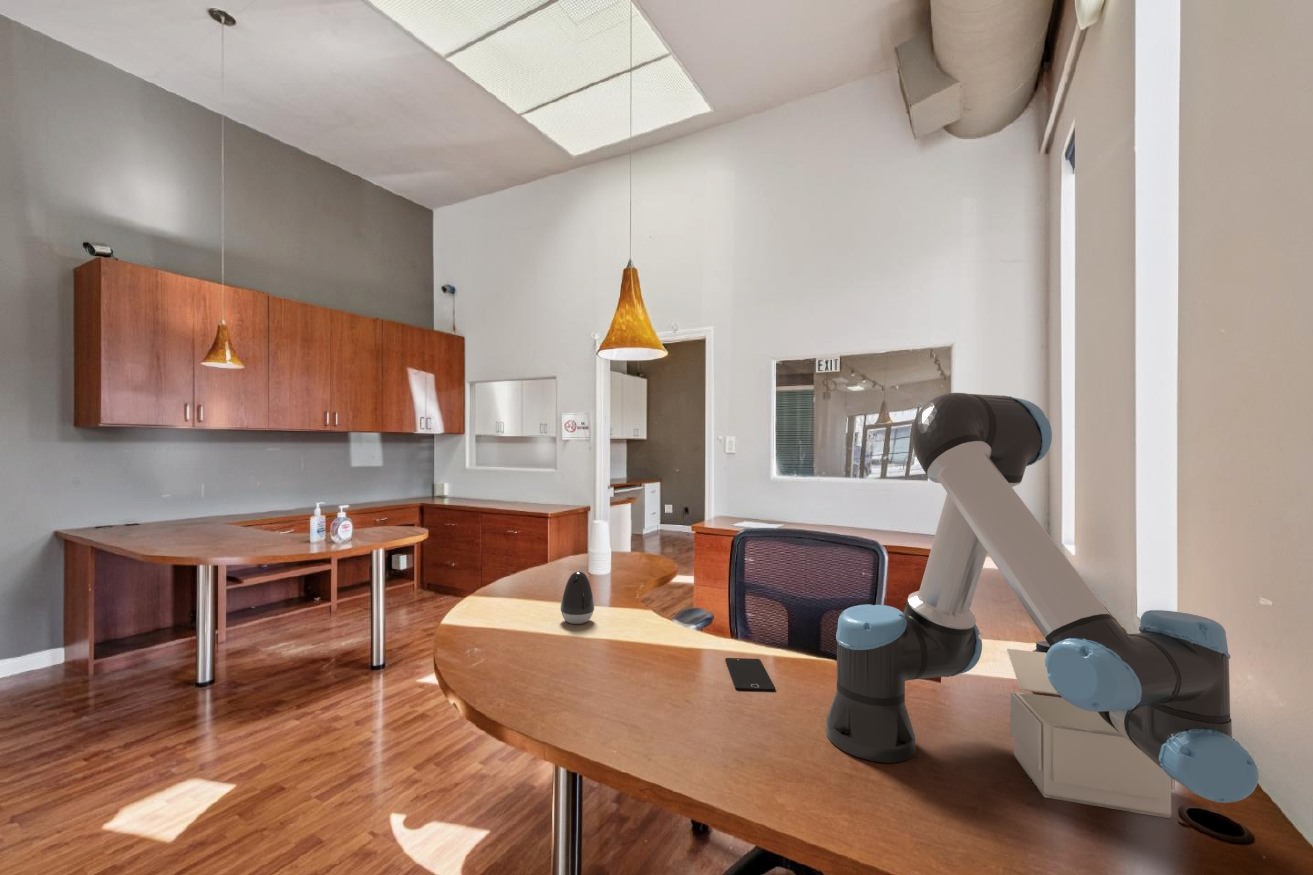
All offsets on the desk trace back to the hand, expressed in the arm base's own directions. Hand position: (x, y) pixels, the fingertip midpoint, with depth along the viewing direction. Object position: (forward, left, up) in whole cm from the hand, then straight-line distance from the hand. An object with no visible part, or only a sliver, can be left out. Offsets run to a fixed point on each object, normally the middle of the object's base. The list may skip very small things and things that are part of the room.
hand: (1061, 656), depth 96 cm
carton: (-1, -10, -17) cm, 20 cm away
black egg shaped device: (-111, +39, -17) cm, 119 cm away
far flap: (-1, -1, -3) cm, 3 cm away
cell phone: (-57, +16, -17) cm, 62 cm away
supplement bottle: (+8, +27, -17) cm, 33 cm away
